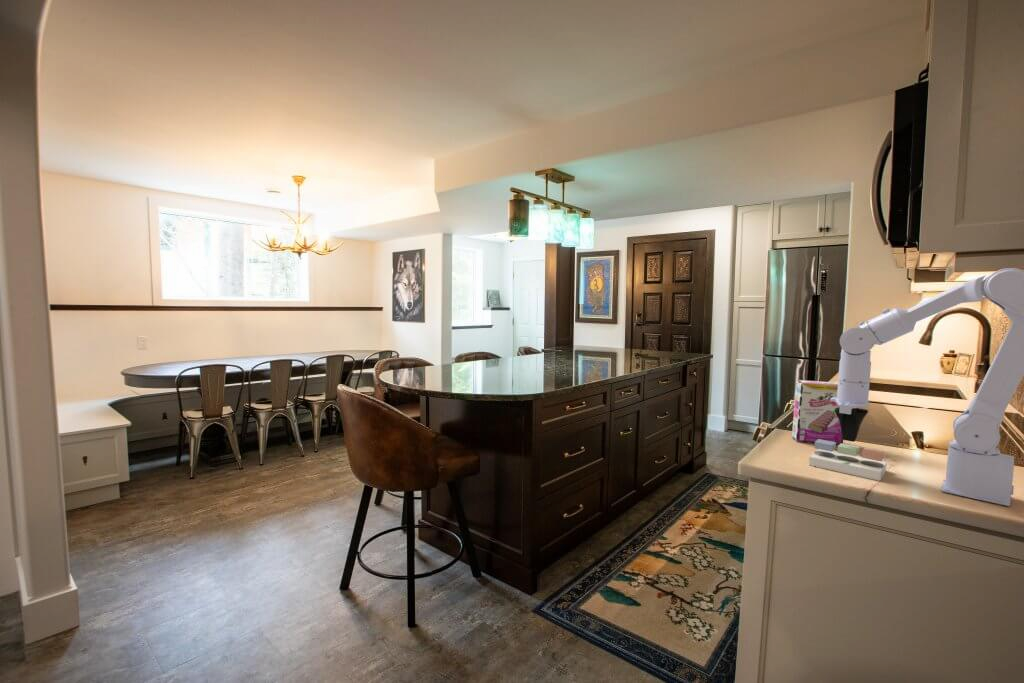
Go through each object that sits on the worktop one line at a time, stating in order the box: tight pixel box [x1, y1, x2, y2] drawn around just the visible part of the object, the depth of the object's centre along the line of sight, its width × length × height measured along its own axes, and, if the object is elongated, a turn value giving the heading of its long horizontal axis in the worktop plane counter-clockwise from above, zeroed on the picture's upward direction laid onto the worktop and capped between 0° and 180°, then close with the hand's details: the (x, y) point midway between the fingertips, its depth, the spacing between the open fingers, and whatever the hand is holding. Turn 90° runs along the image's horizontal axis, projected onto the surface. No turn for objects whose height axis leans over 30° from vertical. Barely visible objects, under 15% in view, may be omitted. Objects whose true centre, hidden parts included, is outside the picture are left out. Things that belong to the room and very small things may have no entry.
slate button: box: [814, 439, 837, 452], centre depth 110 cm, size 4×4×2 cm
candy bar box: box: [791, 379, 844, 446], centre depth 127 cm, size 11×5×16 cm, turn 74°
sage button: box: [836, 443, 861, 456], centre depth 107 cm, size 4×4×2 cm
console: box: [808, 449, 888, 482], centre depth 107 cm, size 13×9×2 cm
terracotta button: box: [861, 447, 886, 462], centre depth 103 cm, size 4×4×2 cm
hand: (849, 440), depth 106 cm, fingers closed
